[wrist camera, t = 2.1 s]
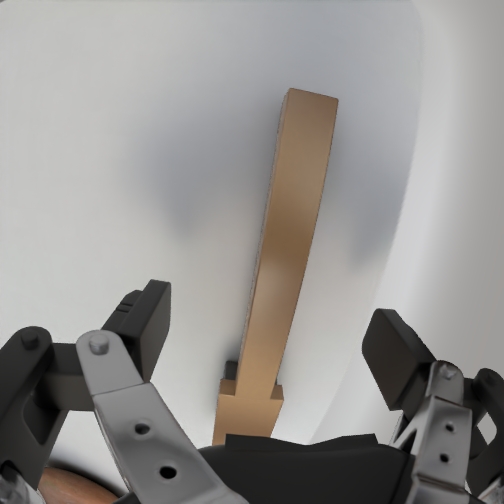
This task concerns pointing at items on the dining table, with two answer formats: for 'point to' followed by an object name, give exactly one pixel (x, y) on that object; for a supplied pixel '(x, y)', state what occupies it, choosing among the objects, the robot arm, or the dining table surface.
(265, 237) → the brush
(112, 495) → the ceramic jug
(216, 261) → the dining table surface
